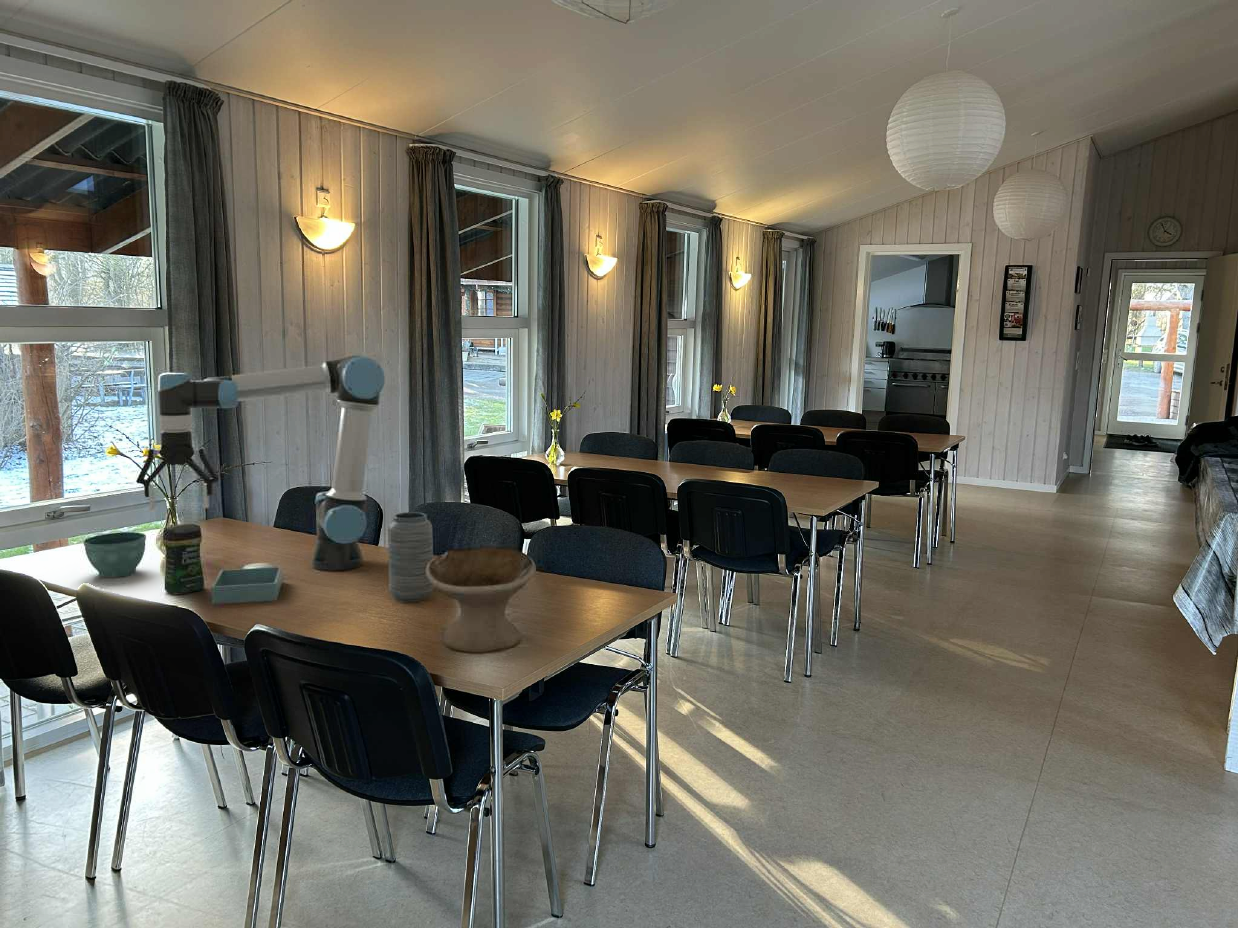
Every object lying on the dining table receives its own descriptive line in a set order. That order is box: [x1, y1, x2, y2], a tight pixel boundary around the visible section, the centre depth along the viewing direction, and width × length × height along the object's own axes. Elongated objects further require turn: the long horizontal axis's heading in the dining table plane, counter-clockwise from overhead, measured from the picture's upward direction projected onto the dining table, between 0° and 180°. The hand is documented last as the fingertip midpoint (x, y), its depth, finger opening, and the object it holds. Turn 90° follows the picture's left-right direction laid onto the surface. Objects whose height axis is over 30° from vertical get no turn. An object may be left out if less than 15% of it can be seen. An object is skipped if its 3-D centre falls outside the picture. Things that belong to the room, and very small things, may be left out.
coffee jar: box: [162, 522, 205, 595], centre depth 256 cm, size 10×8×19 cm
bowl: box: [426, 546, 537, 654], centre depth 219 cm, size 26×25×20 cm
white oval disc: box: [242, 562, 274, 569], centre depth 272 cm, size 8×8×4 cm
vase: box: [387, 511, 434, 604], centre depth 252 cm, size 12×12×23 cm
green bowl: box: [82, 531, 147, 579], centre depth 273 cm, size 16×16×11 cm
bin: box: [211, 566, 283, 605], centre depth 256 cm, size 16×18×5 cm
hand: (179, 508), depth 254 cm, fingers open, 13 cm apart
